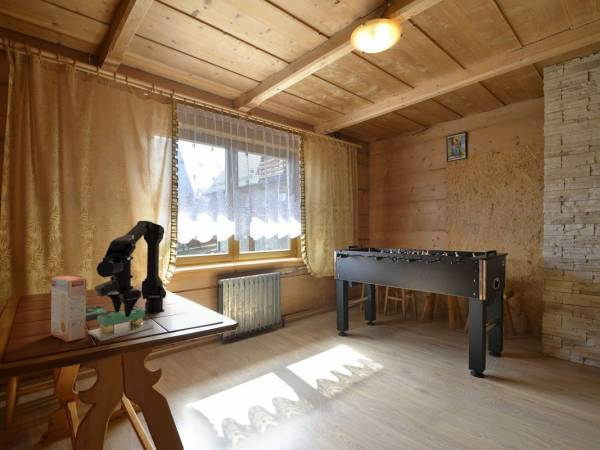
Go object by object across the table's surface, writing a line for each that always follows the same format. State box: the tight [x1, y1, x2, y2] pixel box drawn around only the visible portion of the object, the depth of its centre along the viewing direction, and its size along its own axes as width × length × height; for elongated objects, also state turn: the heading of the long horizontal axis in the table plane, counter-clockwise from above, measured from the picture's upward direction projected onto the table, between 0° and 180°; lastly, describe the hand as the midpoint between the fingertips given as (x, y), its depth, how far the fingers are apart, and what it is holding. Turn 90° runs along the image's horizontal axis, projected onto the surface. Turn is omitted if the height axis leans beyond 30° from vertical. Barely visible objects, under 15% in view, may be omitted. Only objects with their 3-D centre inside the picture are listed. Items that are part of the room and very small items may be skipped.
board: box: [96, 307, 146, 326], centre depth 114 cm, size 14×6×2 cm, turn 142°
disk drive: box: [86, 305, 111, 322], centre depth 134 cm, size 10×3×15 cm
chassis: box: [88, 317, 155, 342], centre depth 114 cm, size 18×12×6 cm, turn 141°
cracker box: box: [50, 275, 87, 343], centre depth 108 cm, size 14×6×21 cm, turn 57°
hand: (122, 314), depth 114 cm, fingers open, 9 cm apart
